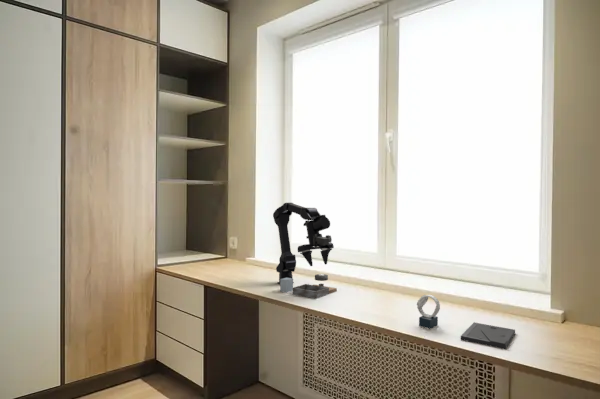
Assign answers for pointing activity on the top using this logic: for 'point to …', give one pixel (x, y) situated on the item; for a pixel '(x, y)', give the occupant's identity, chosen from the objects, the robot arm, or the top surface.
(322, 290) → the tray
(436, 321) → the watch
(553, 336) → the top surface
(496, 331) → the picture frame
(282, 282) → the grey-blue block
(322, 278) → the wheel
